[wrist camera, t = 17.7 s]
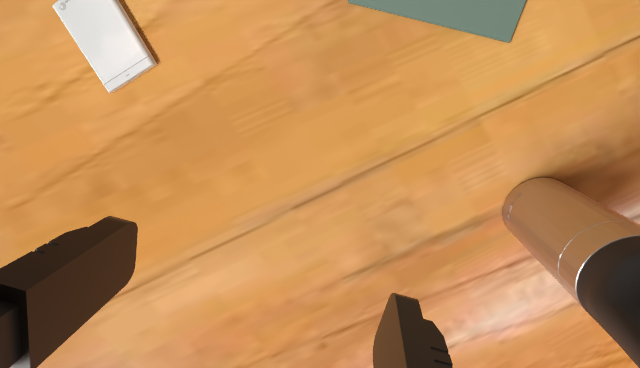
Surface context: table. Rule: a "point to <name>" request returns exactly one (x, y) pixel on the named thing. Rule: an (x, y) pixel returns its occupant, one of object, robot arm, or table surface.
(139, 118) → the table surface
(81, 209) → the table surface
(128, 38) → the hard drive
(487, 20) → the felt mat
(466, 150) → the table surface
